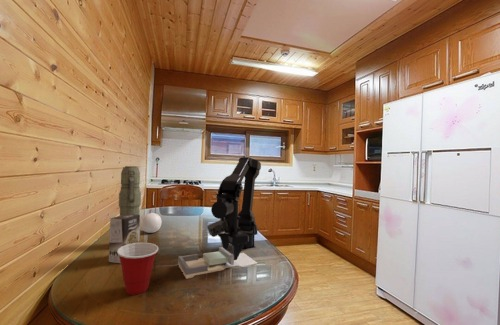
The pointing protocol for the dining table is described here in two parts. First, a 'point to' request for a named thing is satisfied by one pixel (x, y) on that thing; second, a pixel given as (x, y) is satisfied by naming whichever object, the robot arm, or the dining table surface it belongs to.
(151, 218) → the ornament
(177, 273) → the dining table surface
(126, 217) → the coffee box
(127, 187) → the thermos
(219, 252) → the green block on base
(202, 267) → the dock
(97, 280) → the dining table surface
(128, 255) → the plastic cup
